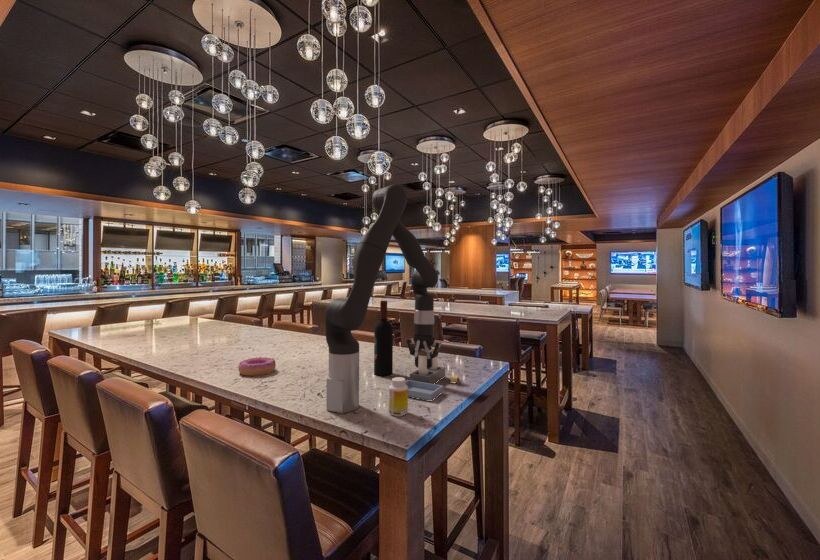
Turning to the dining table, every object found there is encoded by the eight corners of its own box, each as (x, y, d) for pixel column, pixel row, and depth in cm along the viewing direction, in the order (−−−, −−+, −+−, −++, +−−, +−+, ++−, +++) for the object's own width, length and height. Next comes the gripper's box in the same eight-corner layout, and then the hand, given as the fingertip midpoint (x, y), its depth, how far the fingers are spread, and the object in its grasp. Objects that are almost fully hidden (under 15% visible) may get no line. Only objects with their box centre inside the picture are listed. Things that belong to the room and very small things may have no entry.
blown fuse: (425, 385, 133) (426, 352, 133) (416, 383, 135) (416, 351, 134) (430, 382, 136) (430, 350, 136) (420, 380, 138) (421, 349, 138)
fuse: (434, 380, 140) (435, 349, 140) (425, 378, 142) (425, 348, 142) (439, 377, 143) (439, 347, 143) (429, 376, 145) (430, 346, 145)
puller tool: (457, 383, 136) (457, 380, 136) (450, 383, 136) (450, 379, 136) (457, 377, 144) (457, 374, 144) (451, 377, 144) (451, 373, 144)
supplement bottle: (411, 413, 107) (411, 379, 107) (398, 418, 103) (398, 383, 103) (398, 408, 111) (398, 375, 110) (384, 413, 107) (385, 379, 106)
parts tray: (443, 392, 125) (443, 385, 125) (431, 401, 117) (431, 394, 116) (407, 386, 132) (407, 379, 132) (393, 394, 123) (393, 387, 123)
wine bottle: (384, 377, 143) (384, 302, 142) (370, 374, 147) (370, 301, 147) (396, 373, 149) (396, 300, 148) (382, 370, 153) (383, 300, 153)
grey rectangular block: (429, 387, 131) (429, 376, 131) (409, 384, 134) (409, 373, 134) (445, 377, 144) (445, 367, 144) (427, 374, 148) (427, 365, 148)
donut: (252, 379, 140) (252, 366, 140) (230, 373, 147) (230, 361, 147) (283, 371, 152) (283, 359, 152) (261, 366, 160) (261, 354, 160)
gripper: (402, 321, 135) (402, 367, 135) (437, 324, 128) (436, 372, 129) (411, 319, 142) (411, 363, 142) (445, 322, 135) (445, 368, 135)
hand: (423, 367), depth 135 cm, fingers closed on blown fuse, 4 cm apart
